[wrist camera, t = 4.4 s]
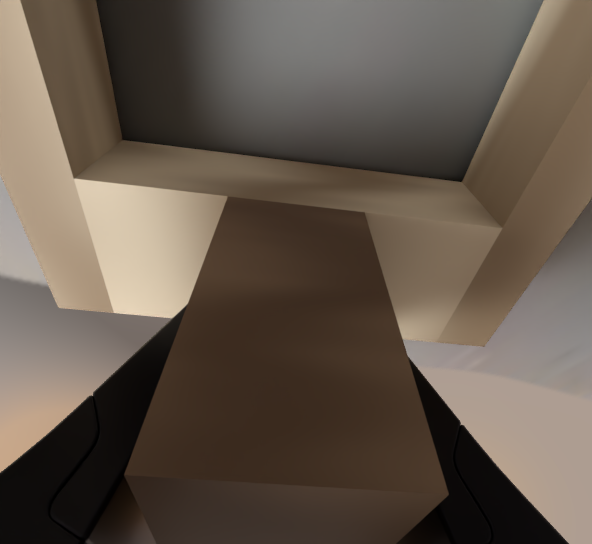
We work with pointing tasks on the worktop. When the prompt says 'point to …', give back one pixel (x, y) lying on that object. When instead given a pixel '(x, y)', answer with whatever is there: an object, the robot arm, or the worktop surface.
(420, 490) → the ash sled frame
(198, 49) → the worktop surface
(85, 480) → the robot arm
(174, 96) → the worktop surface
